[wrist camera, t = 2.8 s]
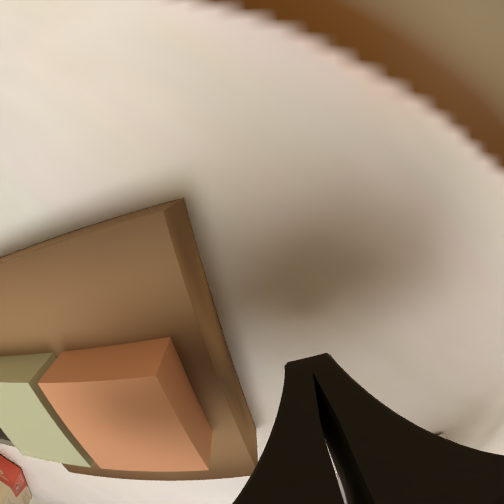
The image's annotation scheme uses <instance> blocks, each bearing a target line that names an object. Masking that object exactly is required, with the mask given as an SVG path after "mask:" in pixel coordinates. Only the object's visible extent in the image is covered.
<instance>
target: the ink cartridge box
mask: <svg viewBox="0 0 504 504" xmlns="http://www.w3.org/2000/svg"><path fill="white" fill-rule="evenodd" d="M31 498H32V496H31V493H30V491H29V488H28V486H27V483H26V481H25V478H24V476H23V473H22V470H21V468H19V467H17V466H16V465H14V464H13V463H11V462H10V461H8V460H7V459H5V458H4V457H2V456H1V455H0V504H29V502H30V500H31Z"/></svg>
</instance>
